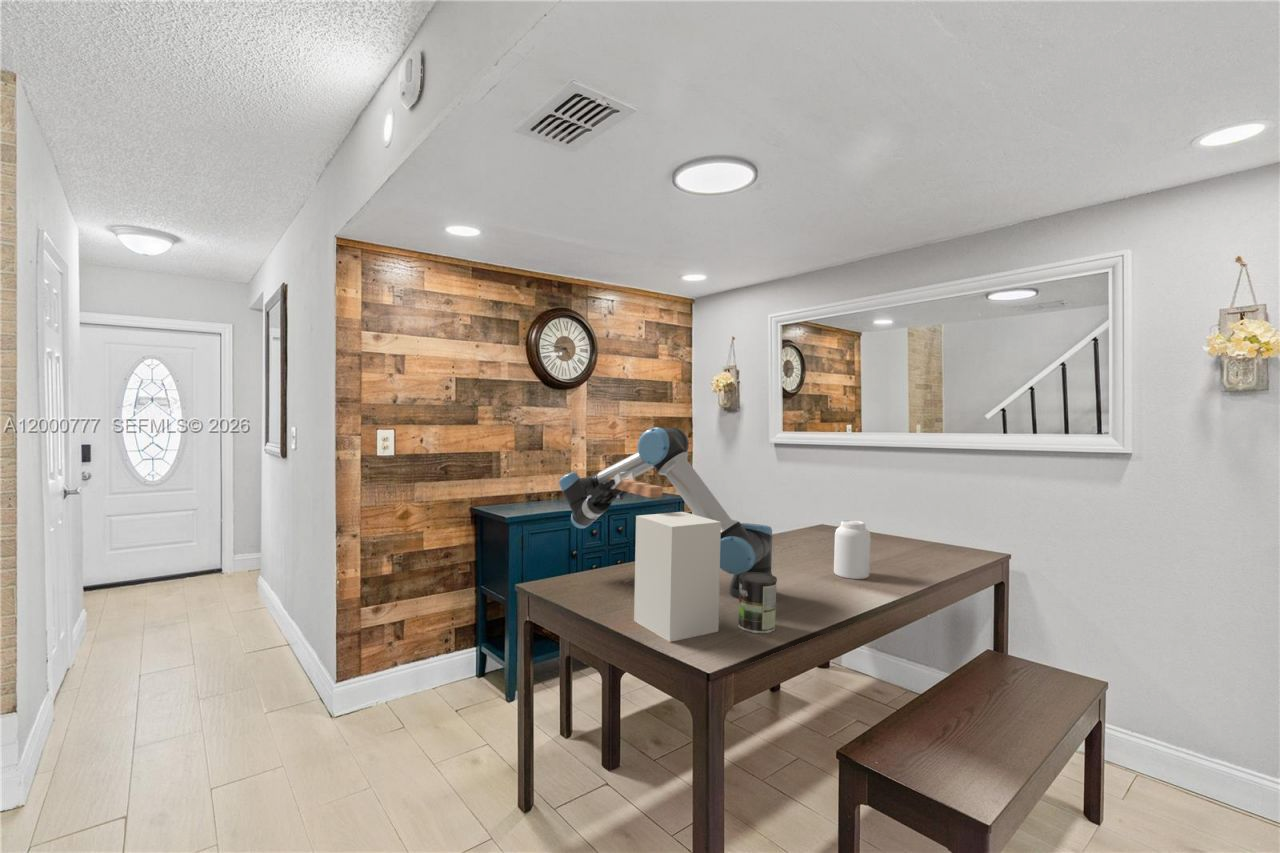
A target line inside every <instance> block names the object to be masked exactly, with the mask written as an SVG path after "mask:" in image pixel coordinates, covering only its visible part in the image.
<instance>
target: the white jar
mask: <svg viewBox="0 0 1280 853" xmlns="http://www.w3.org/2000/svg"><path fill="white" fill-rule="evenodd" d="M871 536H872V535H871V532H870V531H869V529H868V528H866V524H865V522H864V521H861V520H854V519H852V520H851V519H844V520H842V521H841V522H840V526H839V527H837V528H836V529H835V532H834V547H833V548H834V550H833V552H834V553H833V554H834V556H833V573H834V574H835V575H836V576H838V577H840V578H844V579H850V580H851V579H852V580H864V579H867V578H869V576H870V574H871V572H870V571H871V570H870V568H871V567H870V566H871V540H872V539H871V538H872V537H871Z"/></svg>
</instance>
